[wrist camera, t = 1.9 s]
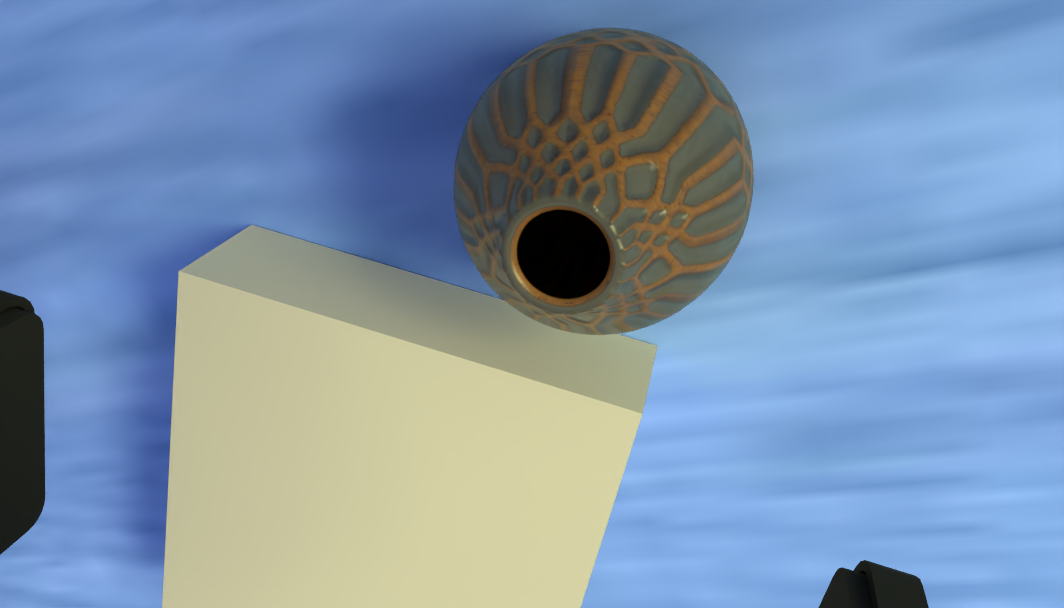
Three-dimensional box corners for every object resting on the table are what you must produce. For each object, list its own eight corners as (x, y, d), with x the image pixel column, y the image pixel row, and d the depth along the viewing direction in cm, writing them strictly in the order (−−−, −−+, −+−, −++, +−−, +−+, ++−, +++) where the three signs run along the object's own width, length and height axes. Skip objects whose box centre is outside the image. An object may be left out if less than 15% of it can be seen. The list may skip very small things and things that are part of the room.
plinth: (251, 224, 28) (178, 271, 25) (657, 345, 27) (642, 413, 23) (224, 544, 34) (161, 619, 31) (558, 658, 33) (534, 751, 29)
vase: (520, 271, 27) (423, 422, 19) (481, 31, 25) (351, 92, 17) (761, 256, 25) (762, 415, 17) (745, -5, 23) (739, 45, 15)
